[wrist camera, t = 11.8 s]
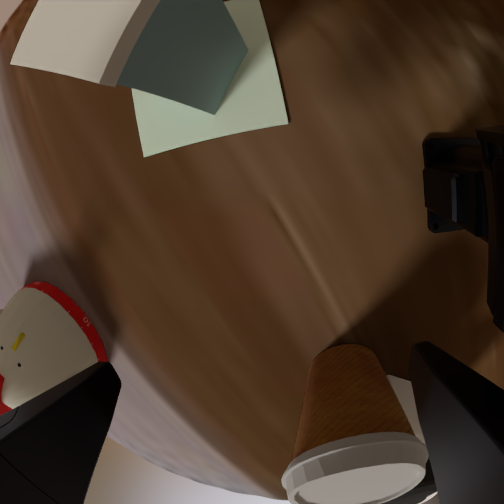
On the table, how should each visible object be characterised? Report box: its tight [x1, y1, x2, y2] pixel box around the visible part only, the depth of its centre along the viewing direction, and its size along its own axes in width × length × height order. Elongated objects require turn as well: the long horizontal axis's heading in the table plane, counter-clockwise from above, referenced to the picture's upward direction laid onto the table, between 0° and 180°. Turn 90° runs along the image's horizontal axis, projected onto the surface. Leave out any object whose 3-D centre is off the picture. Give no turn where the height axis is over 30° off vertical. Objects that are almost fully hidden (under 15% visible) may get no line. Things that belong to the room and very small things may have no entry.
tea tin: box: [10, 0, 248, 115], centre depth 10 cm, size 5×5×12 cm
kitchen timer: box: [0, 281, 107, 415], centre depth 20 cm, size 14×14×15 cm
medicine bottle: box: [381, 375, 438, 504], centre depth 18 cm, size 7×7×12 cm
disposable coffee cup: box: [281, 344, 429, 504], centre depth 17 cm, size 10×10×12 cm
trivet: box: [132, 0, 288, 157], centre depth 16 cm, size 10×10×1 cm
